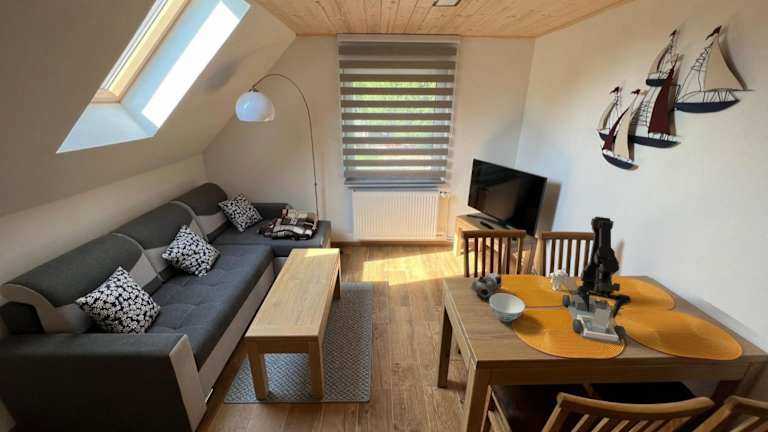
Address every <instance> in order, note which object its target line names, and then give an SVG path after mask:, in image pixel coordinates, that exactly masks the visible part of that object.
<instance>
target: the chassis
mask: <svg viewBox="0 0 768 432" xmlns="http://www.w3.org/2000/svg"><path fill="white" fill-rule="evenodd" d="M595 300H596V301H598V299H597V298H596V297H591V296H589V312H587V309H586V306H585V304H584V301H583V299H582V298H581V297H579V295H577V294H574V295H573V299H571V297H570V295H569V294H563V295H562V299H561V301H562V303H561V304H562V305H563V306H567V307H568V309H569V311H570V314H571V316H572V319H573V320H572V329H573V331H574V332H578V333H579V335H580V337H581V338H582V339H589V340H594V341H595V340H596V341H600V342H606V343H614V344H621V341H620V339H624V338H625V337H626V328H625V327H624V326H623V325H618V324H615V326H614V327H613V325H612V323H611V322H610V320H609V319H608V323H607V326H606V330H605V333H597V332H591V331H590V329H589V320H590V317H591V313H592V309H593V306H594V302H595ZM599 301H600V302H605V303H609V301H608V300H607V299H599Z"/></svg>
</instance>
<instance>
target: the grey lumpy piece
mask: <svg viewBox="0 0 768 432" xmlns="http://www.w3.org/2000/svg"><path fill="white" fill-rule="evenodd" d="M502 279H503V278H502V274H501V273H500V274H498V273H495V272H492V273H487V274H486V276H485V278H484V275H480V276H479V279H475V280H474V281H473V282H472V284H471V285H472V286H471V287H470V288H471V290H473V291H474V293H476V294H477V295H479V296H480V297H482V298H483V299H484V300H485V299H486V300H488V301H490V297H491V296H492V295H494V294H497V292H498V291H499V290H500V289H502V285H503V280H502Z"/></svg>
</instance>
